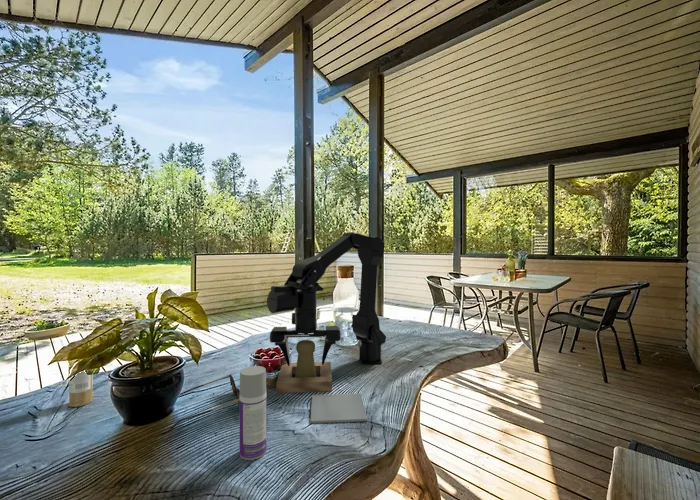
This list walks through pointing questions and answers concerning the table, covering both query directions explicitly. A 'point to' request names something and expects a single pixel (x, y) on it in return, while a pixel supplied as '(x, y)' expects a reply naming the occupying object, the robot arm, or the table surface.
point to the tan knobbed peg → (305, 359)
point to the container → (253, 412)
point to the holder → (304, 379)
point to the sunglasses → (236, 395)
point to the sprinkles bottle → (80, 389)
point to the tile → (337, 408)
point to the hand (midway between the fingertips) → (305, 364)
